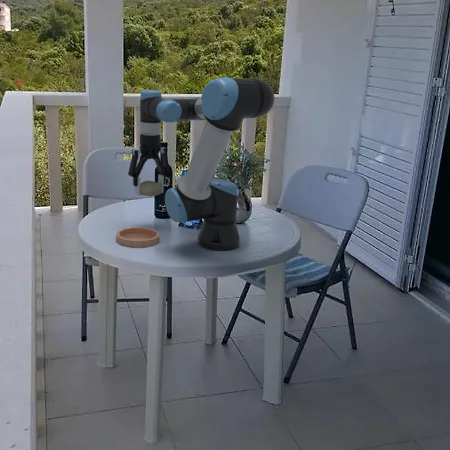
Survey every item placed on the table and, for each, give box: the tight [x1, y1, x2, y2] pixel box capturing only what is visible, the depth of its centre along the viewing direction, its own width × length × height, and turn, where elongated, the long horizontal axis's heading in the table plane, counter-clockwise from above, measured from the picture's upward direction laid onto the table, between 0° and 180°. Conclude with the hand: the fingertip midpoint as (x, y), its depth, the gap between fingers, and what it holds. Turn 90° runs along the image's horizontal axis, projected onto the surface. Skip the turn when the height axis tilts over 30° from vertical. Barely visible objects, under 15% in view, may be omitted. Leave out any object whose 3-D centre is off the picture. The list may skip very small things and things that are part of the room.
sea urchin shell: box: [139, 180, 162, 197], centre depth 215 cm, size 9×8×8 cm
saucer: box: [115, 226, 160, 249], centre depth 204 cm, size 15×15×2 cm
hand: (149, 193), depth 216 cm, fingers closed on sea urchin shell, 9 cm apart
